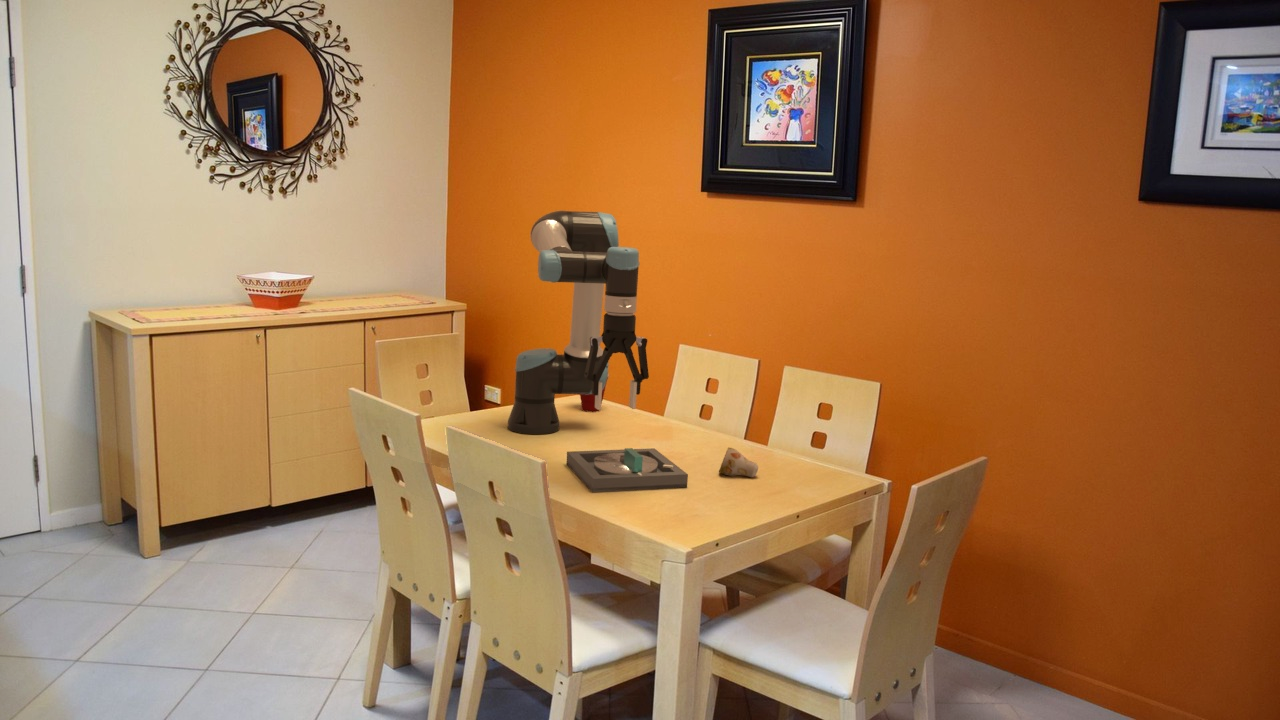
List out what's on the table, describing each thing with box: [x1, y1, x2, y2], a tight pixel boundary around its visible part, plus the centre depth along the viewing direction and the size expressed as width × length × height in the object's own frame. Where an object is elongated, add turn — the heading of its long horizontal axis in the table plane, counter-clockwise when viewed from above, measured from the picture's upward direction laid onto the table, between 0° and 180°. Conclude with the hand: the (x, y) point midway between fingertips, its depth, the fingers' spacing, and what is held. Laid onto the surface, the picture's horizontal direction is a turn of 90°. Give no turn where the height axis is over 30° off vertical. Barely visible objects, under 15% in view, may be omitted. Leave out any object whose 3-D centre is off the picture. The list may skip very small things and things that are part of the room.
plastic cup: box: [579, 374, 610, 412], centre depth 313 cm, size 11×11×12 cm
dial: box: [593, 447, 658, 475], centre depth 242 cm, size 18×16×6 cm
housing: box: [566, 448, 689, 494], centre depth 243 cm, size 24×24×4 cm
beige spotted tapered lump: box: [718, 447, 759, 478], centre depth 249 cm, size 8×10×10 cm
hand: (615, 408), depth 231 cm, fingers open, 8 cm apart
